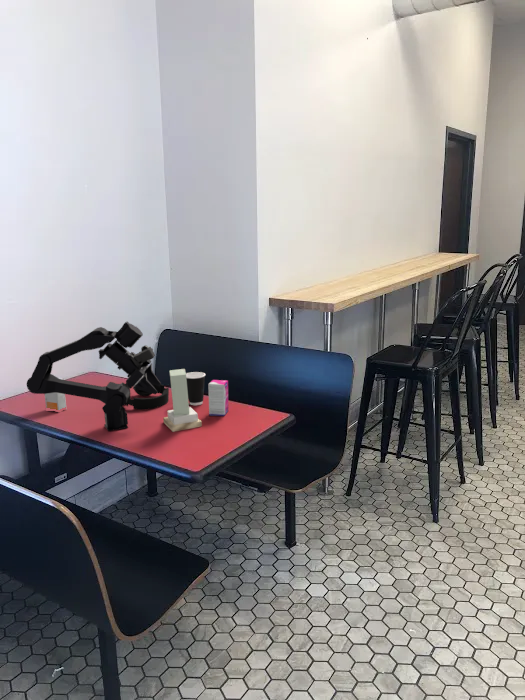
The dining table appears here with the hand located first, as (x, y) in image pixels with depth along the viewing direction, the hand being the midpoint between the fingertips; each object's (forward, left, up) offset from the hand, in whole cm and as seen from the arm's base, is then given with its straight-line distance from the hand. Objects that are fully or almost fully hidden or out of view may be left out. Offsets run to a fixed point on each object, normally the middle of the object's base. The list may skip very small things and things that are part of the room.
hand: (158, 389), depth 192 cm
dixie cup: (+18, +16, -13) cm, 28 cm away
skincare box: (-29, +35, -13) cm, 47 cm away
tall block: (+6, -3, -8) cm, 11 cm away
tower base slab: (+7, -3, -13) cm, 15 cm away
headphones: (+2, +28, -13) cm, 31 cm away
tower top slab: (+7, -3, -11) cm, 13 cm away
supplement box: (+21, +1, -13) cm, 25 cm away
